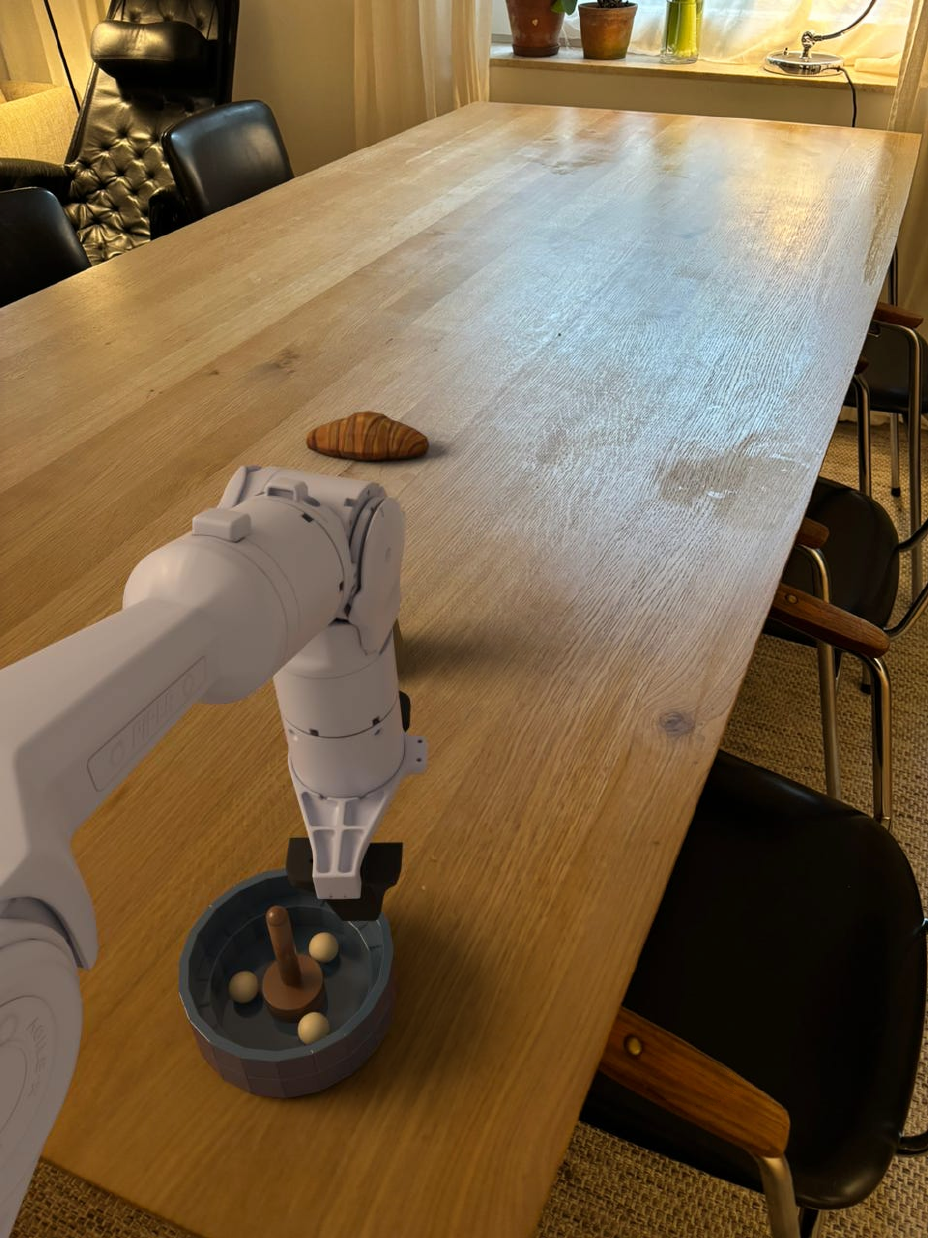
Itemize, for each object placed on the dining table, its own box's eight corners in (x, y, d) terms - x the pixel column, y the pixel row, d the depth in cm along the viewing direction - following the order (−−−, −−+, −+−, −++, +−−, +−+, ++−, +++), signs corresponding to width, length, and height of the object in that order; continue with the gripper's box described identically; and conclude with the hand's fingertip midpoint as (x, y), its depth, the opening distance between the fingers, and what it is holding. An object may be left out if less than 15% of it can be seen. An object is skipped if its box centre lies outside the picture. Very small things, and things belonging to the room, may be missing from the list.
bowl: (235, 1144, 54) (219, 1104, 51) (168, 966, 62) (151, 921, 59) (432, 1035, 59) (429, 992, 55) (346, 882, 67) (339, 837, 63)
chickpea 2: (317, 973, 61) (314, 958, 60) (306, 951, 62) (303, 935, 61) (344, 960, 62) (341, 944, 60) (332, 938, 63) (329, 922, 62)
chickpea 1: (237, 1014, 59) (232, 999, 58) (227, 989, 60) (221, 974, 59) (265, 1000, 60) (261, 984, 59) (255, 976, 61) (250, 960, 60)
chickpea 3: (307, 1057, 57) (303, 1042, 56) (295, 1031, 58) (291, 1016, 57) (335, 1042, 58) (332, 1027, 56) (323, 1016, 59) (320, 1001, 58)
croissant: (300, 467, 106) (294, 425, 103) (313, 434, 111) (308, 394, 108) (425, 473, 105) (423, 431, 102) (433, 440, 110) (431, 399, 107)
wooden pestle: (278, 1034, 58) (256, 951, 52) (256, 984, 60) (232, 900, 55) (335, 1005, 59) (319, 921, 54) (311, 957, 62) (293, 872, 56)
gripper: (416, 818, 42) (431, 974, 51) (427, 589, 52) (438, 753, 62) (250, 820, 42) (295, 975, 51) (294, 591, 52) (324, 754, 62)
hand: (365, 854), depth 56 cm, fingers open, 7 cm apart
